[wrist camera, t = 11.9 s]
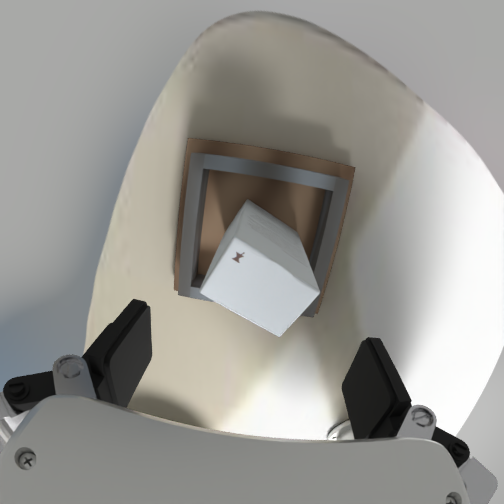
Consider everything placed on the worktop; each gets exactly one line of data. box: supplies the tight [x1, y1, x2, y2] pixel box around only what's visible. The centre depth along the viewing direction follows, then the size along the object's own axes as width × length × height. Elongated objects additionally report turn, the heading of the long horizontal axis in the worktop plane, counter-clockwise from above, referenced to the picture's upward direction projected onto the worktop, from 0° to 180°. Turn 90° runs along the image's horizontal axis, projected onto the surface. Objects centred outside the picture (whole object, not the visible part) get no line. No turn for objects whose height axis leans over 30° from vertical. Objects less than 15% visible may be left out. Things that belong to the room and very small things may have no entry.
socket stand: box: [174, 138, 355, 317], centre depth 26 cm, size 16×16×4 cm
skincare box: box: [200, 199, 320, 337], centre depth 21 cm, size 6×4×12 cm
